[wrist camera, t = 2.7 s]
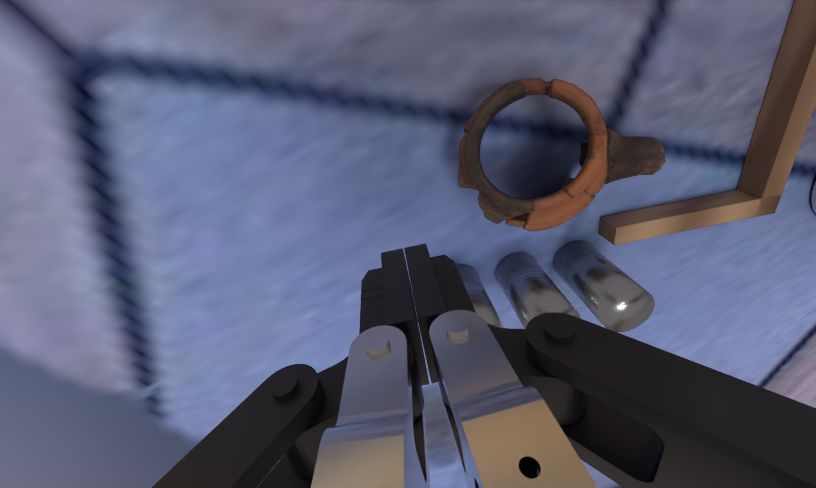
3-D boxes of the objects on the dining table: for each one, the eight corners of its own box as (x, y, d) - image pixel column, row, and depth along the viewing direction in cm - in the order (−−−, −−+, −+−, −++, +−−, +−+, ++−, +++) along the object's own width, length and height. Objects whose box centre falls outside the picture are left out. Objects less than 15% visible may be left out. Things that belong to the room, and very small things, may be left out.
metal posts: (633, -138, 17) (778, -252, 11) (591, 271, 29) (649, 326, 23) (376, -84, 17) (376, -168, 11) (440, 302, 29) (457, 364, 23)
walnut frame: (847, -91, 19) (895, -107, 17) (748, 203, 27) (774, 212, 26) (628, -46, 19) (654, -57, 17) (598, 233, 28) (614, 245, 26)
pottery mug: (470, 235, 27) (460, 241, 19) (456, 118, 27) (441, 75, 19) (637, 217, 24) (709, 215, 16) (625, 85, 24) (692, 16, 16)
